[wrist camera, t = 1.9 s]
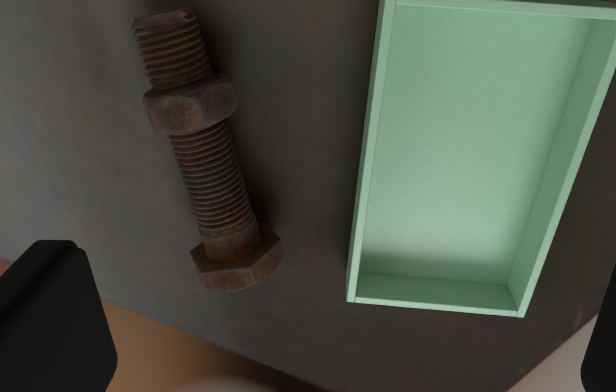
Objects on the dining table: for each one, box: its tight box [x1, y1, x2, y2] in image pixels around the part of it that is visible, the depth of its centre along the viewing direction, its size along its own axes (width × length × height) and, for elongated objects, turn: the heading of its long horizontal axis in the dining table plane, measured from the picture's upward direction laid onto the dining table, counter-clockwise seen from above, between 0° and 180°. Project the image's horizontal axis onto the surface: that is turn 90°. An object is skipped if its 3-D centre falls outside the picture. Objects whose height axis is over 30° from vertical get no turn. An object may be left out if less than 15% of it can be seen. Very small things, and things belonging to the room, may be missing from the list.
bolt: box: [131, 7, 285, 292], centre depth 27 cm, size 6×5×15 cm
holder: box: [346, 0, 616, 317], centre depth 27 cm, size 11×18×3 cm, turn 176°
